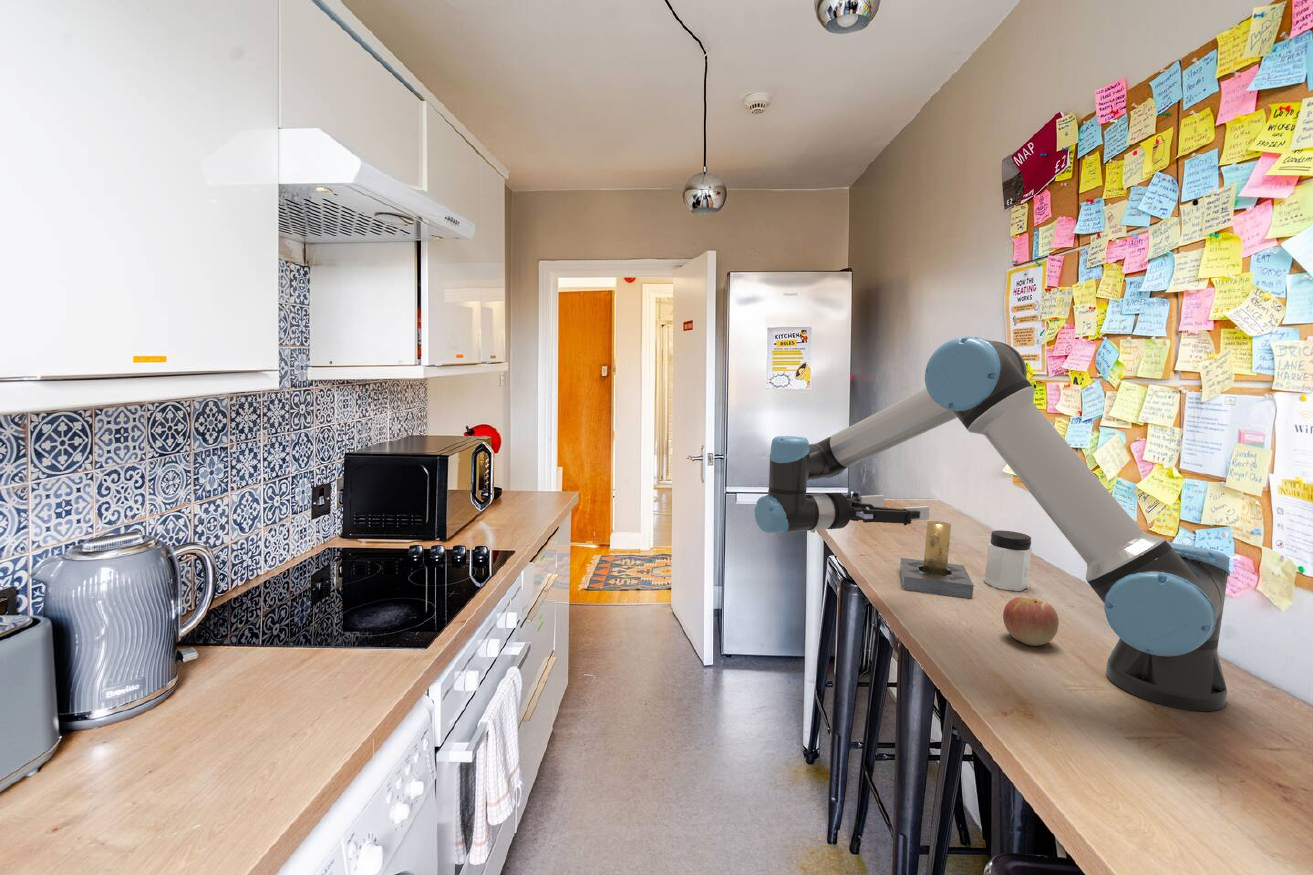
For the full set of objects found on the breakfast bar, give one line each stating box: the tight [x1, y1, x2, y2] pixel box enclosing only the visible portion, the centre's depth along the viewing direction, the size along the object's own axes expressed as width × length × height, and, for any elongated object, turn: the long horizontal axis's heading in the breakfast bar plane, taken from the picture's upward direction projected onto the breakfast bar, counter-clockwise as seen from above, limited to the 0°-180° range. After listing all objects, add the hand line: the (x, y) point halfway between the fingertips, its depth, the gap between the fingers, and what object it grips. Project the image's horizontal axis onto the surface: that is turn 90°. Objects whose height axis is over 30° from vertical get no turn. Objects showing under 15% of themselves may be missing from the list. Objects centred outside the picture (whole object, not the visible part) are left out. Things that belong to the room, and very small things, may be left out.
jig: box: [899, 557, 975, 600], centre depth 155 cm, size 16×14×3 cm
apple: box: [1002, 596, 1060, 647], centre depth 123 cm, size 9×9×8 cm
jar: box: [984, 529, 1032, 592], centre depth 156 cm, size 9×8×12 cm
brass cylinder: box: [923, 520, 952, 576], centre depth 155 cm, size 5×5×14 cm
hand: (904, 506), depth 150 cm, fingers open, 13 cm apart
